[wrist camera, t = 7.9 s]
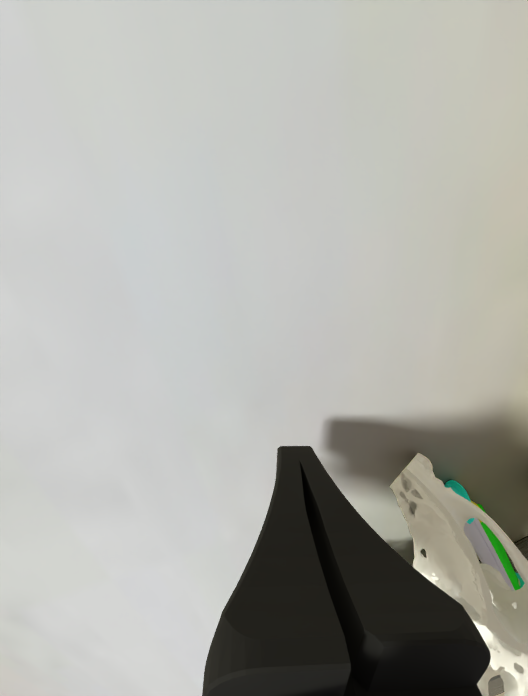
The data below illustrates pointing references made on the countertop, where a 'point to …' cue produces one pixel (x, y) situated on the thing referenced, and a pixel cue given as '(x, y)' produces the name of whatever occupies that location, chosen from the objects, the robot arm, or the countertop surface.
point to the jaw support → (470, 567)
